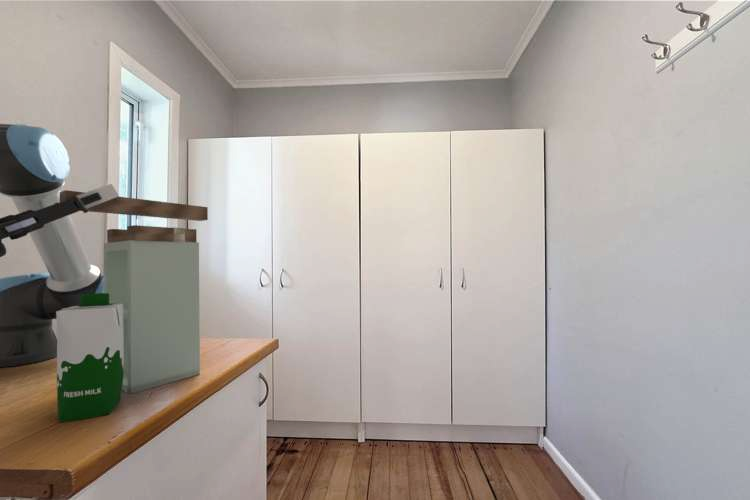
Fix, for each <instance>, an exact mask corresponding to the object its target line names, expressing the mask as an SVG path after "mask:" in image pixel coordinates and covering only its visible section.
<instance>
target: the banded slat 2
mask: <svg viewBox="0 0 750 500" xmlns="http://www.w3.org/2000/svg"><path fill="white" fill-rule="evenodd" d="M126 230H127V241H130V240H134V241H166V242H197V229H196V228H195V229H194V228H184V227H166V226H154V225H153V226H152V225H149V226H148V225H139V224H138V225H135V224H133V225H128V226H126Z"/></svg>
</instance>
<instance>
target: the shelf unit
mask: <svg viewBox="0 0 750 500" xmlns="http://www.w3.org/2000/svg"><path fill="white" fill-rule="evenodd" d="M103 276H104V293H109V304H113V303H115V304H123V330H124V374H123V384H122V392H126V393H129V394H130V395H131V394H135V393H138V392H141V391H145V390H149V389H151V388H155V387H159V386H163V385H167V384H169V383H173V382H176V381H180V380H185V379H187V378H191V377H194V376H198V375H200V374H201V373H200V372H201V371H200V370H201V369H200V367H201V365H200V364H201V363H200V360H201V358H200V356H201V340H200V339H201V337H200V335H201V334H200V333H201V332H200V333H199V326H200V243H199V242H198V241H196V242H166V241H134V240H130V241H121V242H112V243H107V242H103Z"/></svg>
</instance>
